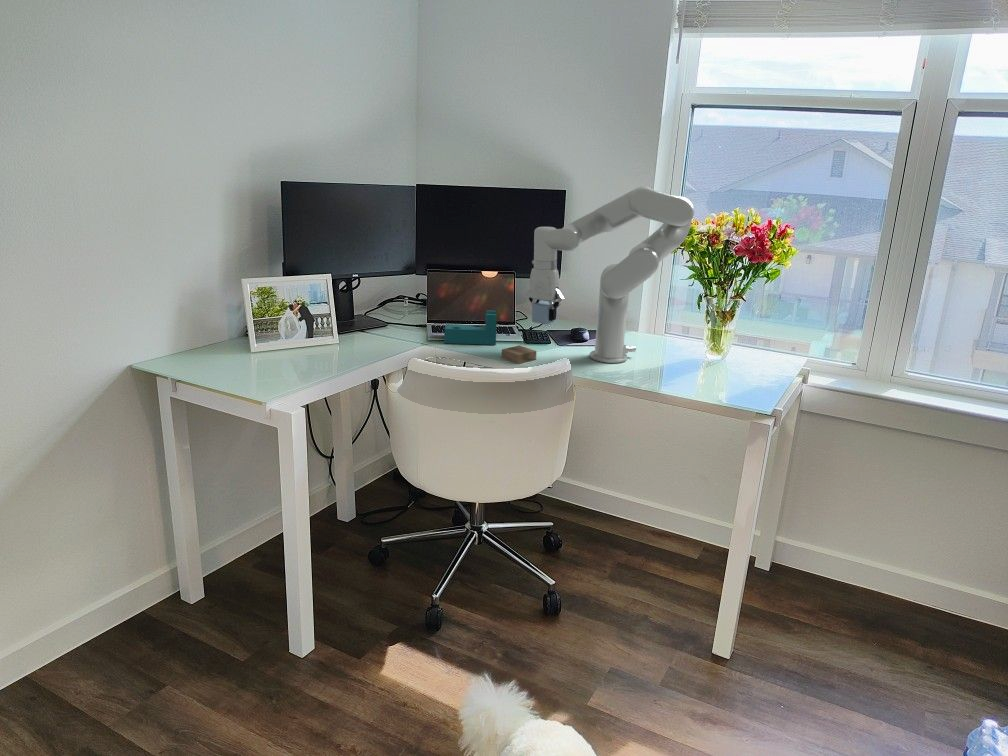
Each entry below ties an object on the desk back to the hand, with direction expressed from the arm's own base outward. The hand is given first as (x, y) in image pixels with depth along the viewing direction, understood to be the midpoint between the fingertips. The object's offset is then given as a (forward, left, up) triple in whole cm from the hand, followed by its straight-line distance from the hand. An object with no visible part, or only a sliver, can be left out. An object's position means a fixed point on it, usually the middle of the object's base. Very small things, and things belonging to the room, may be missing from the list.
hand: (544, 318), depth 246 cm
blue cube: (0, 0, -1) cm, 1 cm away
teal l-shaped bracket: (+19, -20, -13) cm, 31 cm away
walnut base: (+11, +5, -12) cm, 17 cm away
